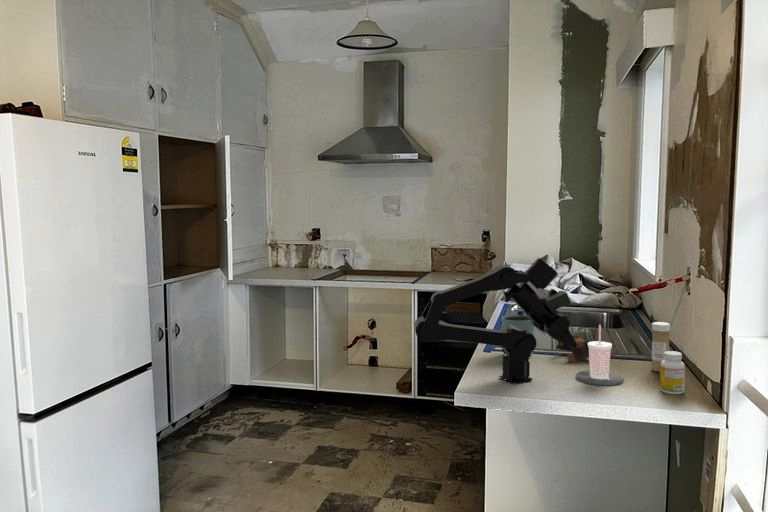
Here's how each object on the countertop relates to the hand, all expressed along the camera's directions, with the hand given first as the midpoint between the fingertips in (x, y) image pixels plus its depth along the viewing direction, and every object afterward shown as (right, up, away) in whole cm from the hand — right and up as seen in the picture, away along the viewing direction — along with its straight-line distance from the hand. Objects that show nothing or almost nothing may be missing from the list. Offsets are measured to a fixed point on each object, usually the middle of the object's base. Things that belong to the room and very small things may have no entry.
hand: (570, 343), depth 160 cm
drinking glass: (-8, -8, +26) cm, 28 cm away
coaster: (+8, -10, 0) cm, 12 cm away
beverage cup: (+8, -9, 0) cm, 12 cm away
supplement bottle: (+22, -11, -11) cm, 27 cm away
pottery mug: (+8, -8, +21) cm, 24 cm away
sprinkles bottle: (+27, -9, +7) cm, 29 cm away
